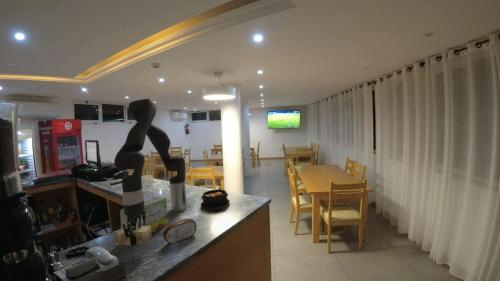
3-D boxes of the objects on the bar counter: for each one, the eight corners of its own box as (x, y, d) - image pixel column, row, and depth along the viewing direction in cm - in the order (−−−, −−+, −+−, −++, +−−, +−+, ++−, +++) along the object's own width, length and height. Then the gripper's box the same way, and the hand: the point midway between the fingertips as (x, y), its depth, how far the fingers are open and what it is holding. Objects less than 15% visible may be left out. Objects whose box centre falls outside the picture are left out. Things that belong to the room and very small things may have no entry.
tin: (195, 232, 105) (194, 215, 104) (198, 235, 103) (197, 217, 102) (163, 244, 95) (162, 226, 95) (165, 247, 93) (164, 228, 92)
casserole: (233, 210, 130) (232, 196, 130) (201, 215, 126) (200, 200, 125) (226, 197, 154) (226, 185, 154) (200, 201, 150) (199, 189, 149)
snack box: (129, 244, 97) (126, 212, 96) (122, 241, 100) (119, 209, 99) (168, 224, 115) (166, 197, 114) (161, 222, 118) (159, 195, 117)
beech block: (114, 233, 86) (145, 231, 86) (122, 227, 91) (150, 225, 91) (116, 245, 86) (146, 243, 87) (123, 238, 91) (151, 237, 92)
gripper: (133, 195, 95) (136, 233, 96) (113, 208, 81) (117, 251, 82) (150, 194, 95) (153, 232, 96) (133, 206, 81) (137, 250, 82)
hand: (137, 241), depth 89 cm, fingers closed on beech block, 5 cm apart
